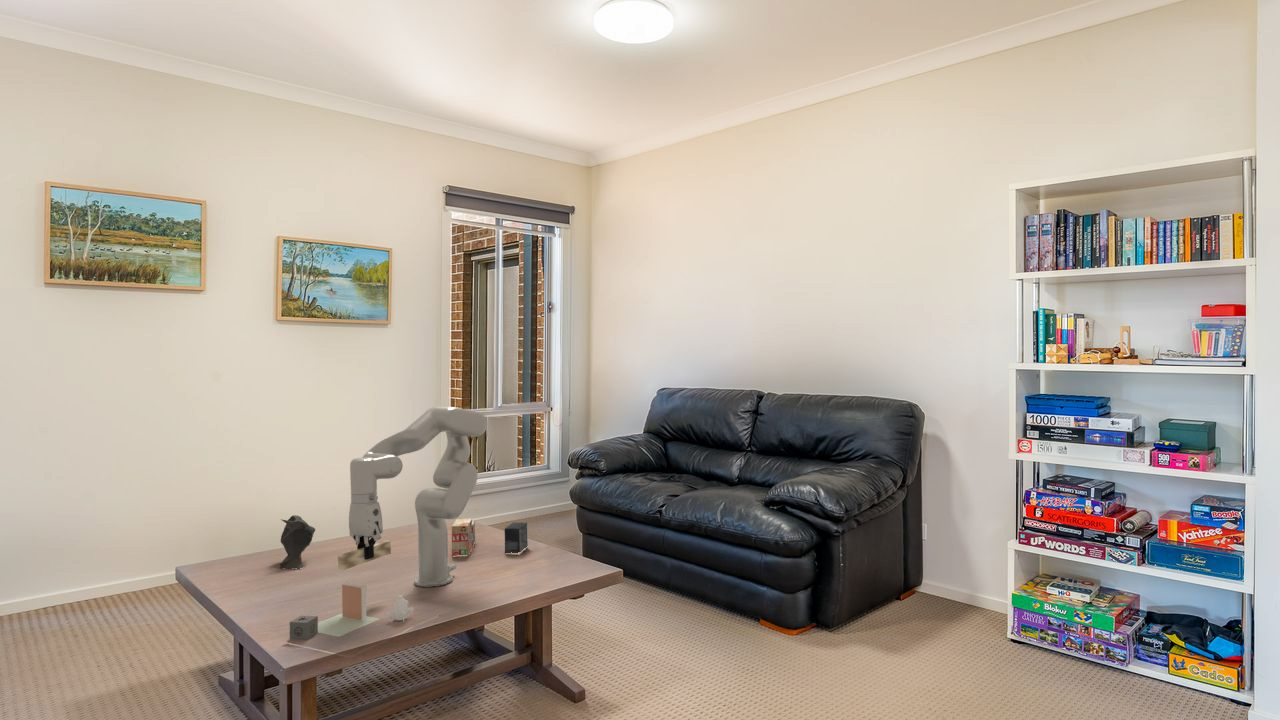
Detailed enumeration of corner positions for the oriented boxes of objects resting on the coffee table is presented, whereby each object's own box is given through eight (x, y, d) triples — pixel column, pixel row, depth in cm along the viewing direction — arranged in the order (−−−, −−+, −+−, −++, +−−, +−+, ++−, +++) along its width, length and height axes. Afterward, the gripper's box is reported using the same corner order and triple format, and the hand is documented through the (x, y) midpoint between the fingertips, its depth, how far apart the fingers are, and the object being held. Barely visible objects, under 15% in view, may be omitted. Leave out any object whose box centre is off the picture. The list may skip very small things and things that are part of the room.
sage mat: (344, 613, 215) (344, 612, 215) (380, 620, 209) (380, 618, 209) (302, 630, 201) (302, 629, 201) (338, 638, 195) (338, 636, 195)
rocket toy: (413, 618, 211) (413, 591, 211) (404, 625, 205) (404, 597, 205) (396, 617, 211) (396, 590, 212) (386, 623, 206) (386, 596, 206)
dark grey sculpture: (326, 558, 277) (325, 511, 277) (300, 569, 262) (300, 519, 262) (292, 556, 280) (292, 510, 280) (265, 567, 265) (265, 518, 265)
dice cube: (301, 633, 200) (300, 615, 200) (317, 634, 199) (317, 616, 199) (289, 640, 195) (289, 622, 195) (307, 641, 194) (306, 622, 194)
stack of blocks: (459, 543, 298) (459, 513, 298) (475, 543, 298) (475, 513, 298) (451, 557, 276) (451, 525, 276) (468, 557, 277) (468, 525, 277)
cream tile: (346, 615, 212) (345, 581, 212) (366, 619, 208) (366, 585, 208) (341, 617, 210) (341, 583, 210) (361, 621, 207) (361, 586, 207)
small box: (512, 548, 290) (512, 521, 290) (528, 548, 289) (527, 522, 289) (503, 555, 279) (503, 527, 279) (520, 555, 278) (519, 528, 278)
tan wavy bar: (385, 552, 230) (384, 540, 230) (390, 553, 229) (390, 540, 229) (338, 569, 214) (337, 555, 214) (344, 570, 213) (343, 556, 213)
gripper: (392, 497, 221) (394, 557, 222) (355, 494, 229) (357, 552, 229) (373, 502, 215) (375, 564, 215) (335, 498, 222) (337, 558, 222)
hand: (365, 557), depth 222 cm, fingers closed on tan wavy bar, 2 cm apart
